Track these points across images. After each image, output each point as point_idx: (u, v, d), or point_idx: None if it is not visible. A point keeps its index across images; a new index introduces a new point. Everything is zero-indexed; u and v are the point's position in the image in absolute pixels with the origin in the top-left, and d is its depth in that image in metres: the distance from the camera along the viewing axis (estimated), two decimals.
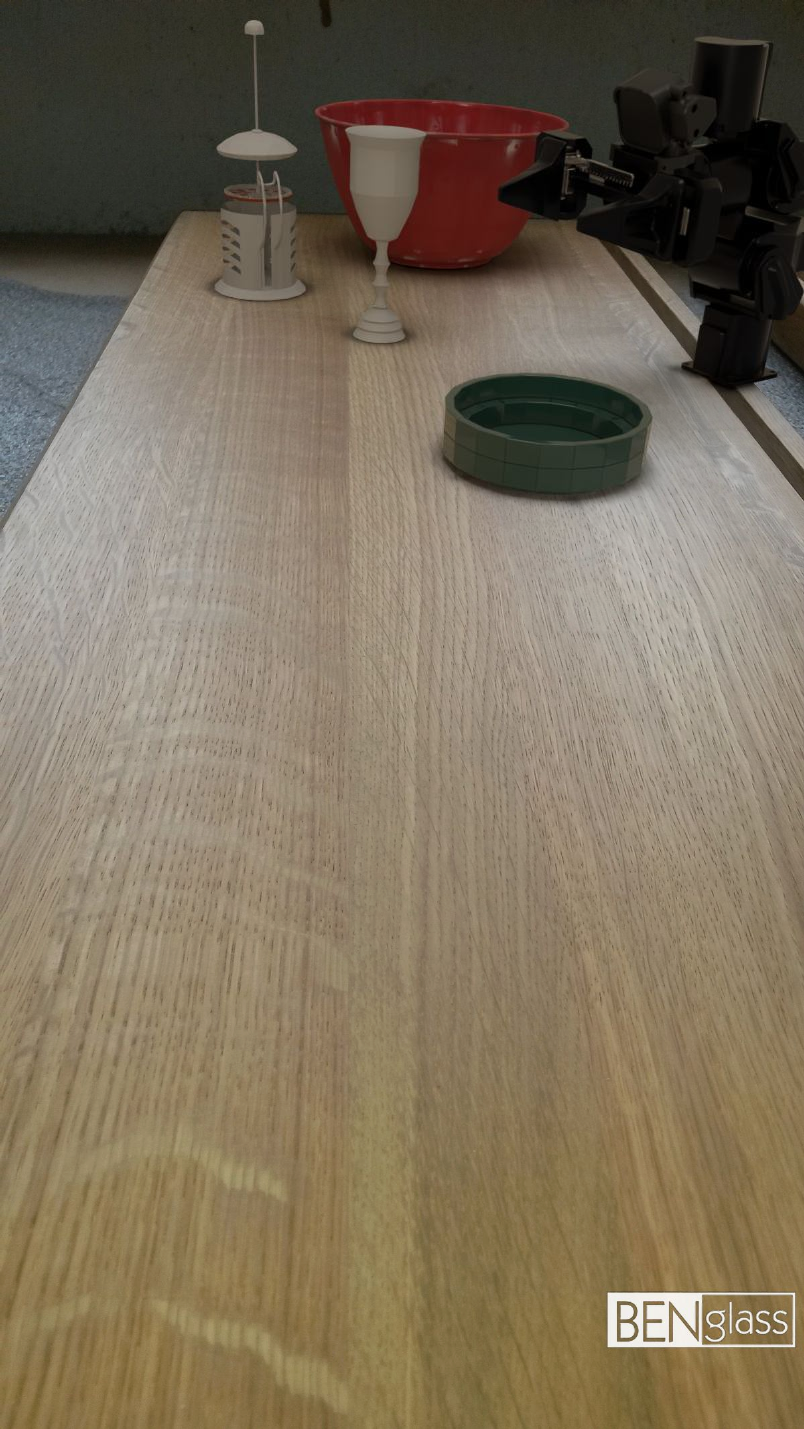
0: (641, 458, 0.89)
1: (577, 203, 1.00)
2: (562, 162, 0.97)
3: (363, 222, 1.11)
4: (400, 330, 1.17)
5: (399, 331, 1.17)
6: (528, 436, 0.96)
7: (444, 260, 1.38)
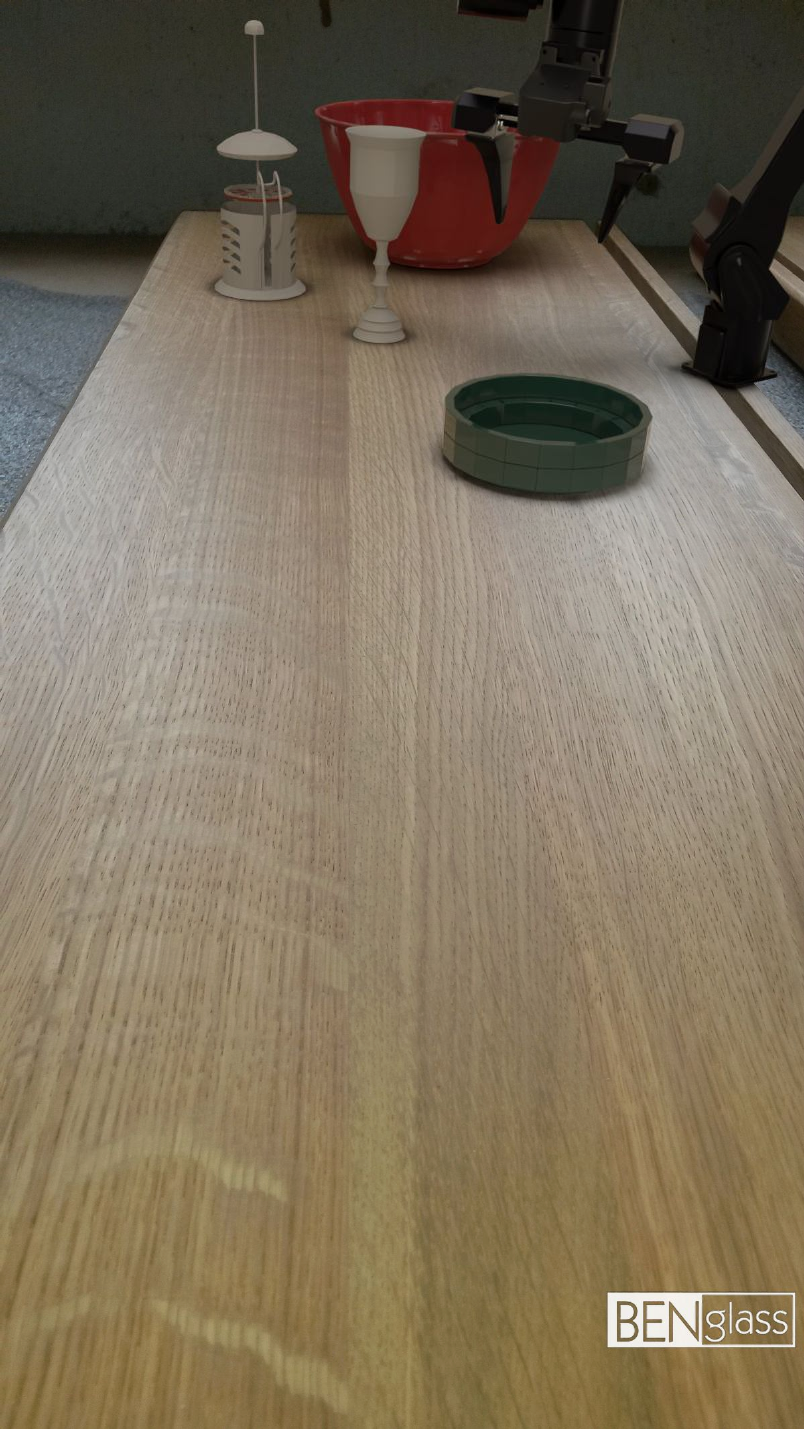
0: (641, 458, 0.89)
1: None
2: (499, 142, 1.02)
3: (363, 222, 1.11)
4: (400, 330, 1.17)
5: (399, 331, 1.17)
6: (528, 436, 0.96)
7: (444, 260, 1.38)
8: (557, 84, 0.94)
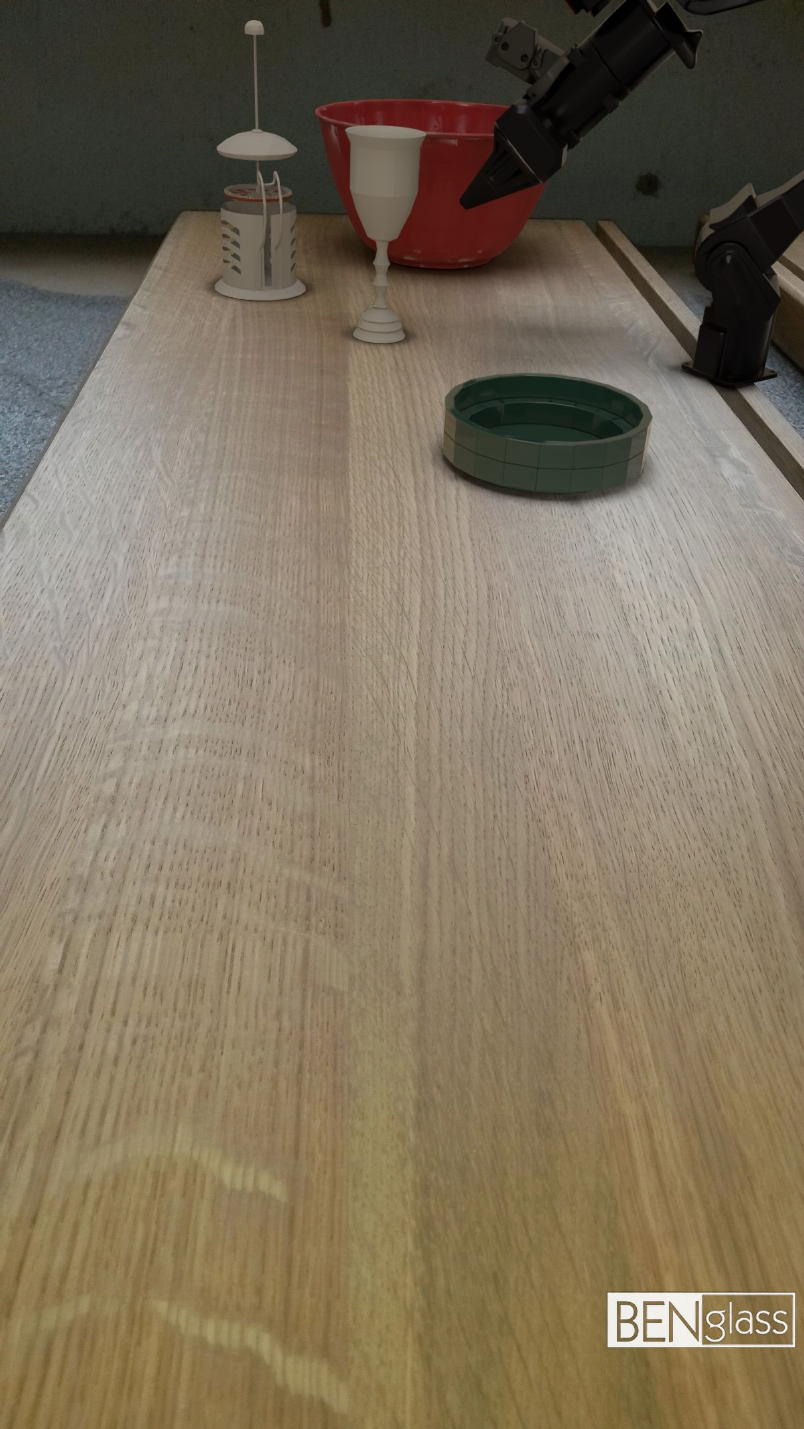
0: (641, 458, 0.89)
1: None
2: None
3: (363, 222, 1.11)
4: (400, 330, 1.17)
5: (399, 331, 1.17)
6: (528, 436, 0.96)
7: (444, 260, 1.38)
8: None
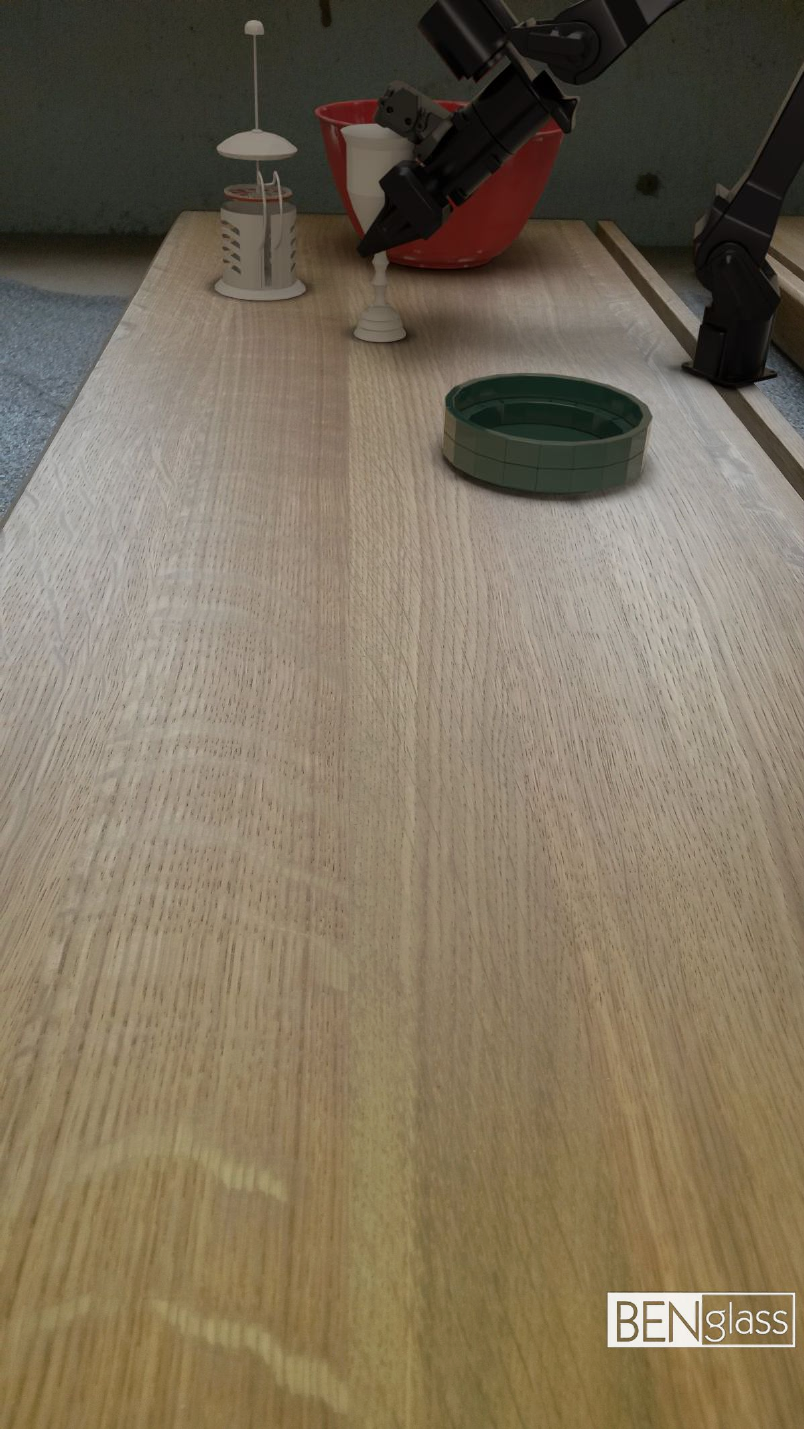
0: (641, 458, 0.89)
1: None
2: None
3: (361, 222, 1.11)
4: (401, 328, 1.17)
5: (400, 329, 1.17)
6: (528, 436, 0.96)
7: (444, 260, 1.38)
8: None
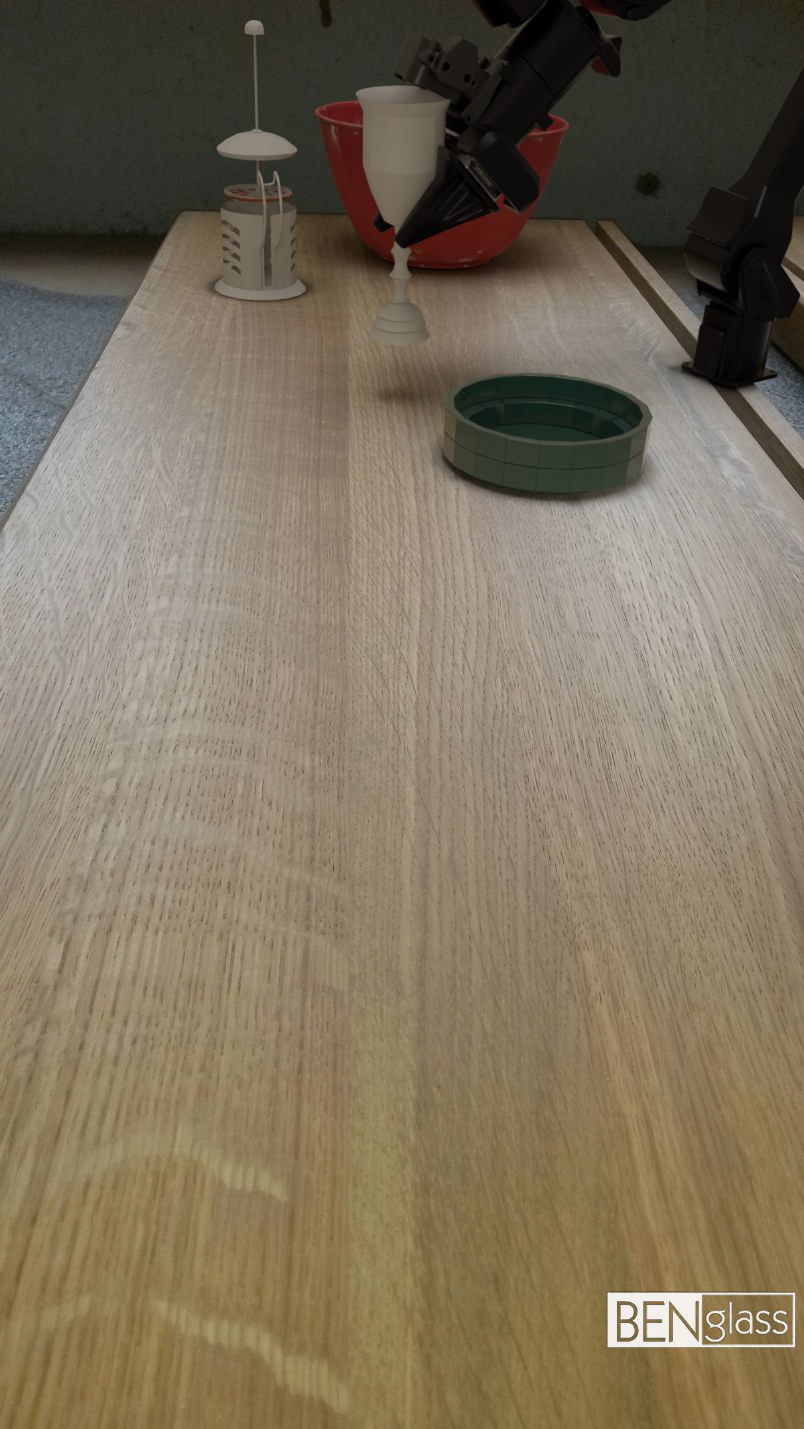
0: (641, 458, 0.89)
1: None
2: None
3: (388, 206, 0.93)
4: None
5: (424, 325, 1.01)
6: (528, 436, 0.96)
7: (444, 260, 1.38)
8: None
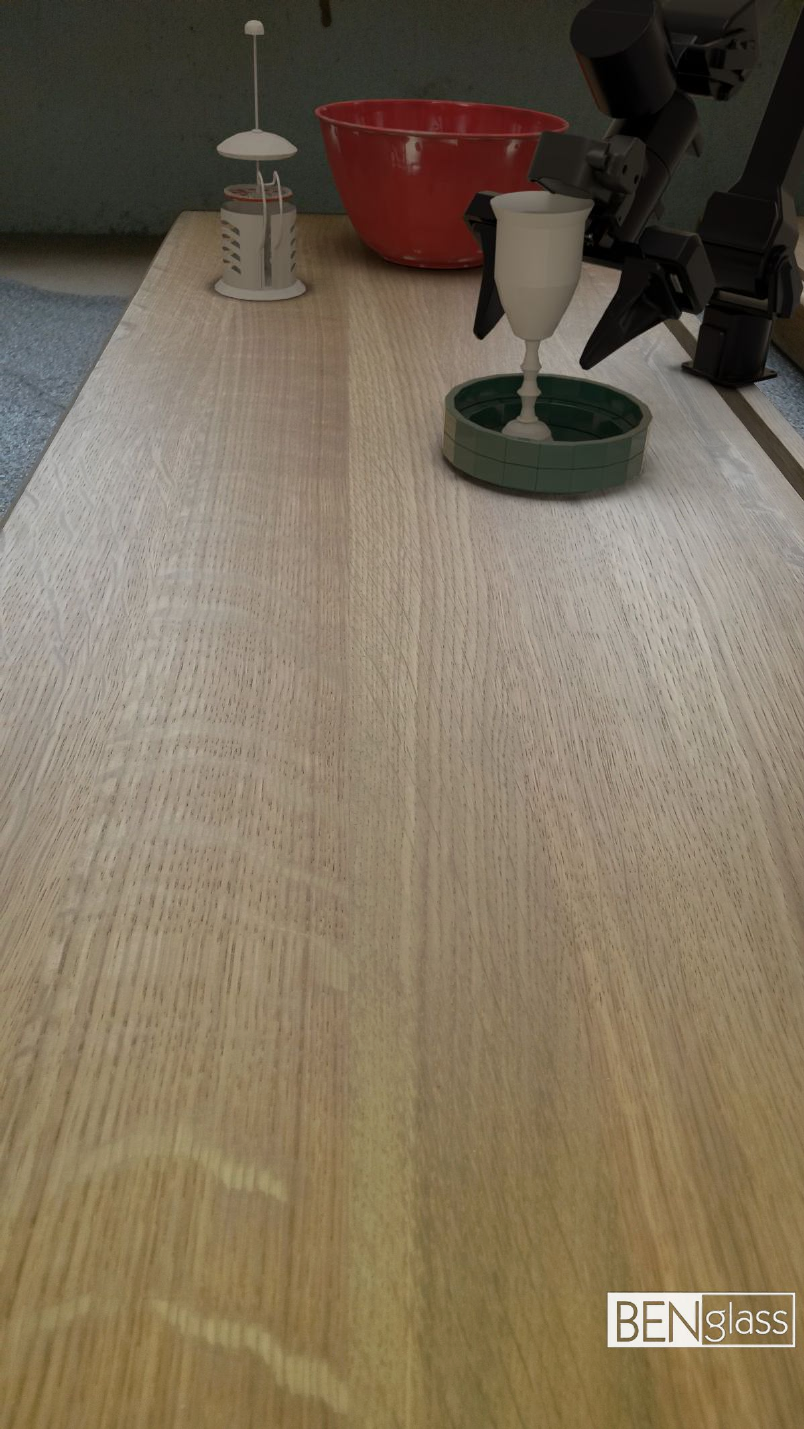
0: (641, 458, 0.89)
1: None
2: None
3: (537, 323, 0.85)
4: None
5: None
6: None
7: (444, 260, 1.38)
8: None
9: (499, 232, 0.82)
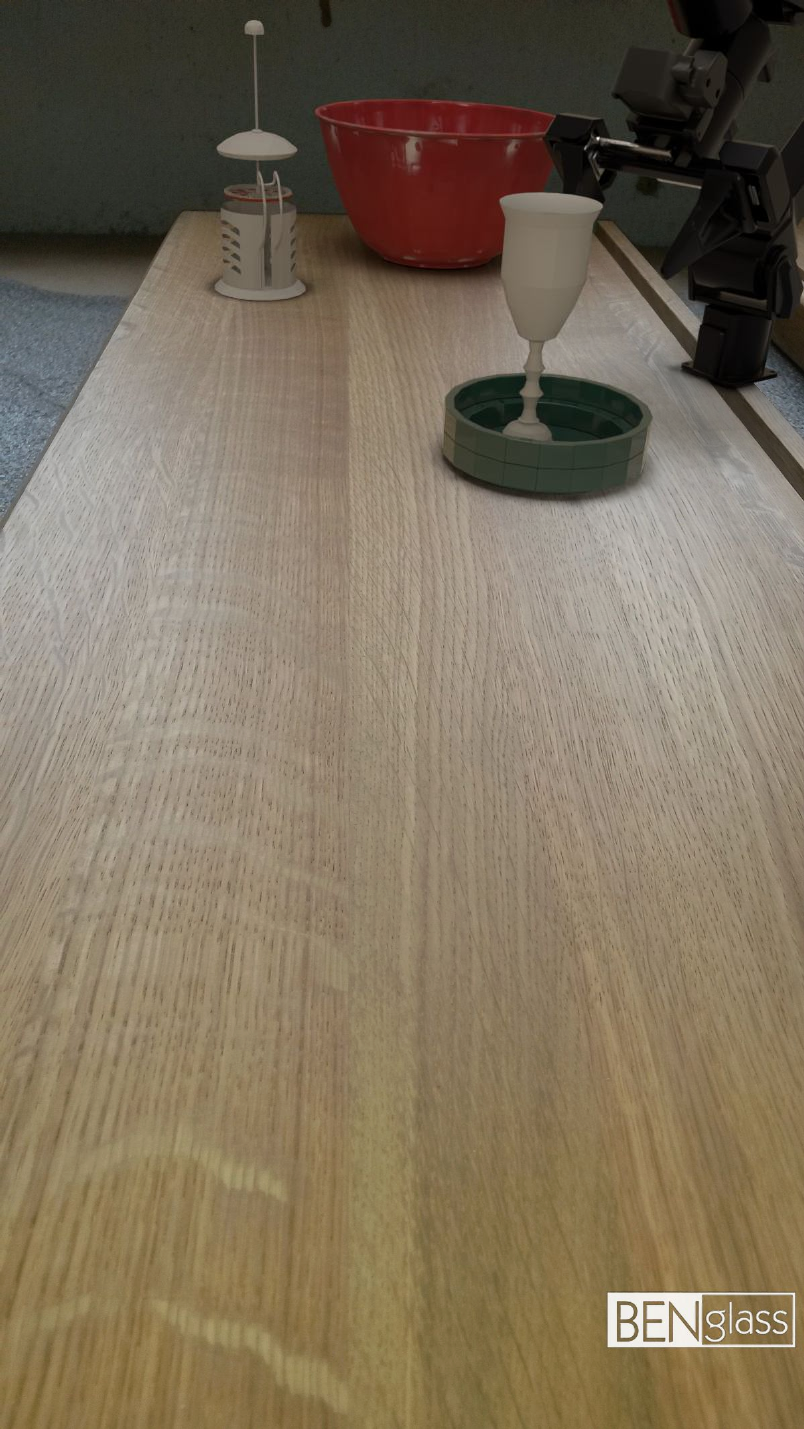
0: (641, 458, 0.89)
1: None
2: (587, 162, 0.92)
3: (542, 323, 0.85)
4: None
5: None
6: None
7: (444, 260, 1.38)
8: None
9: (507, 231, 0.82)
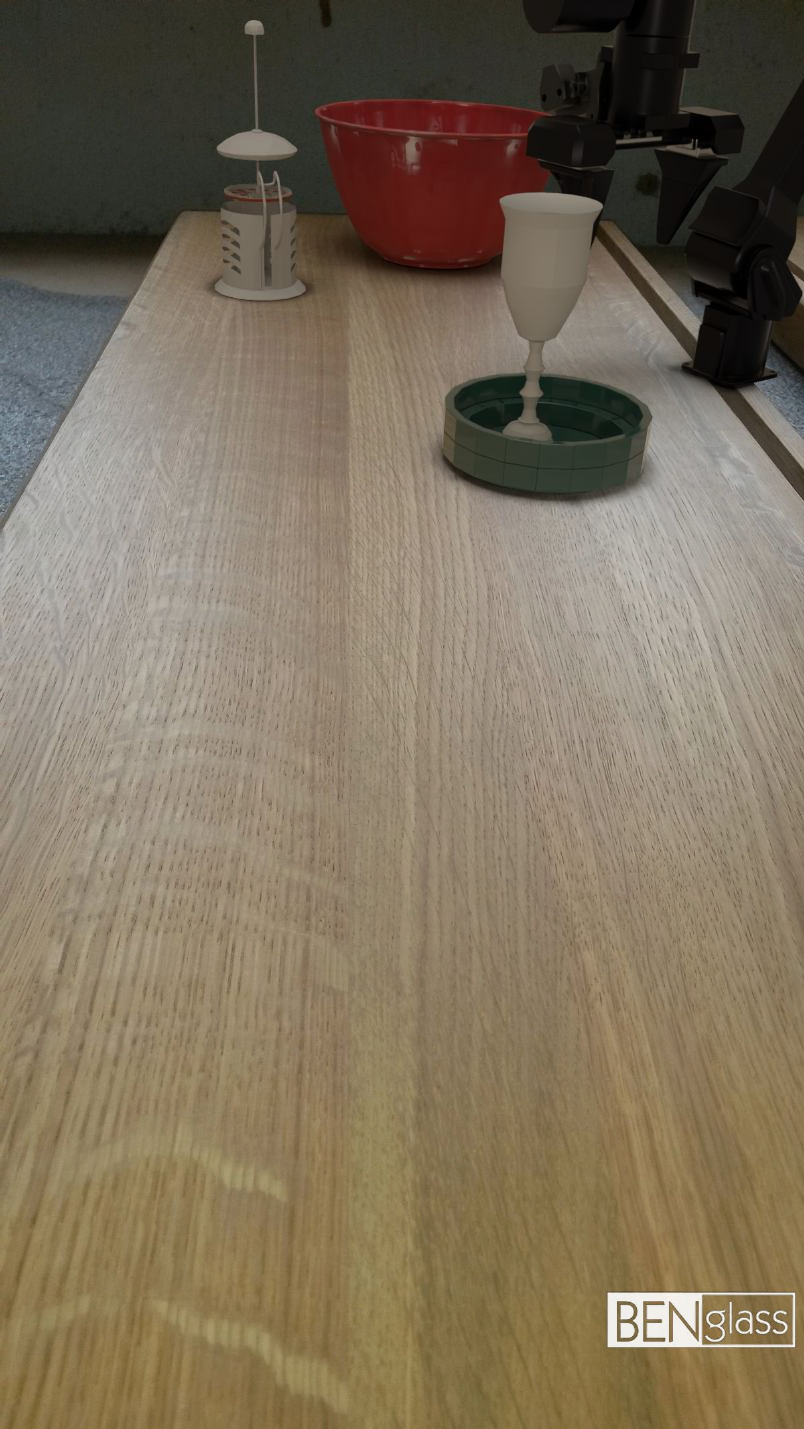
0: (641, 458, 0.89)
1: (705, 129, 0.97)
2: (665, 155, 1.00)
3: (542, 323, 0.85)
4: None
5: None
6: None
7: (444, 260, 1.38)
8: None
9: (507, 231, 0.82)
